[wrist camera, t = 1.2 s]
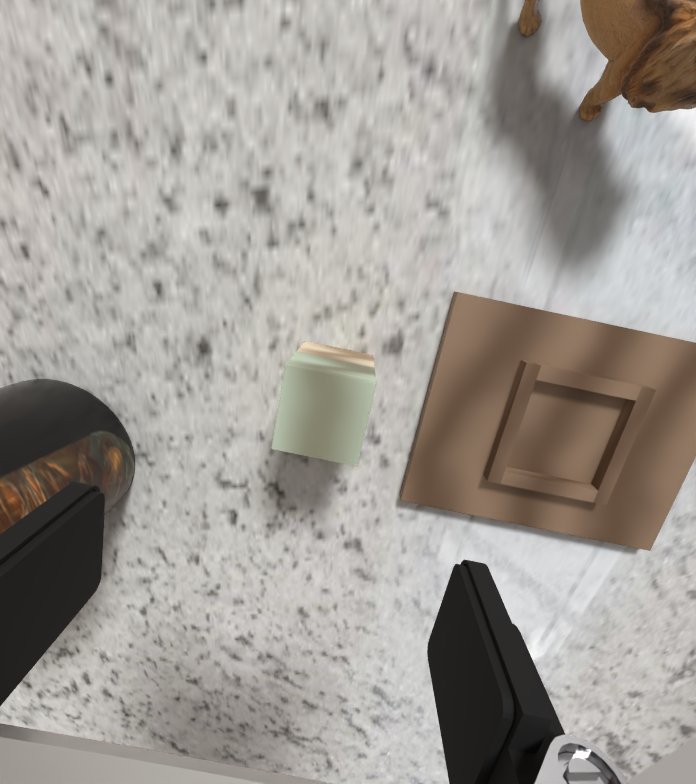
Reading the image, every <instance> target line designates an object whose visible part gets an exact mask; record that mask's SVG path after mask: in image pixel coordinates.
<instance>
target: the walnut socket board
mask: <svg viewBox="0 0 696 784" xmlns="http://www.w3.org/2000/svg"><path fill="white" fill-rule="evenodd" d="M695 457H696V343H694V342H689V341H684V340H680V339H675V338H670V337H665V336H661V335H656V334H651V333H647V332H642V331H637V330H633V329H628V328H623V327H619V326H614V325H609V324H604V323H600V322H595V321H590V320H586V319H581V318H576V317H572V316H567V315H562V314H557V313H553V312H548V311H543V310H539V309H534V308H529V307H525V306H520V305H515V304H510V303H506V302H501V301H496V300H492V299H487V298H482V297H478V296H473V295H468V294H464V293H459V292H454V295H453V299H452V303H451V306H450V310H449V314H448V318H447V321H446V325H445V329H444V332H443V336H442V340H441V343H440V347H439V351H438V355H437V358H436V362H435V366H434V369H433V373H432V377H431V380H430V384H429V388H428V392H427V395H426V399H425V403H424V406H423V410H422V414H421V418H420V421H419V425H418V429H417V432H416V436H415V440H414V443H413V447H412V451H411V455H410V458H409V462H408V466H407V469H406V473H405V477H404V481H403V484H402V488H401V492H400V498H401V501H405V502H410V503H415V504H420V505H425V506H430V507H435V508H440V509H445V510H450V511H455V512H460V513H465V514H470V515H475V516H480V517H485V518H490V519H495V520H500V521H505V522H510V523H515V524H520V525H525V526H530V527H535V528H540V529H545V530H550V531H555V532H560V533H565V534H570V535H575V536H580V537H585V538H590V539H595V540H600V541H605V542H610V543H615V544H620V545H625V546H630V547H634V548H639V549H644V550H649V551H650V550H651V548H652V546H653V544H654V542H655V540H656V537H657V535H658V533H659V531H660V529H661V527H662V525H663V523H664V521H665V519H666V517H667V515H668V513H669V511H670V509H671V507H672V504H673V502H674V500H675V498H676V496H677V494H678V492H679V490H680V488H681V486H682V484H683V482H684V480H685V478H686V476H687V474H688V472H689V469H690V467H691V465H692V463H693V461H694V459H695Z"/></svg>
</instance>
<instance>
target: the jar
mask: <svg viewBox="0 0 696 784" xmlns="http://www.w3.org/2000/svg"><path fill="white" fill-rule="evenodd" d="M134 468H135V458H134V452H133V447H132V444H131V441H130V439H129V436H128V434H127V432H126V430H125V428H124V427H123V425H122V423H121V422H120V421H119V419H118V418H117V417H116V415H115V414H114V413H113V412H112V411H111V410H110V409H109V408H108V407H107V406H106V405H105V404H104V403H103V402H101V401H100V400H99V399H98V398H96V397H95V396H93V395H92V394H90V393H88V392H87V391H85V390H83V389H81V388H79V387H76V386H74V385H72V384H68V383H65V382H61V381H57V380H50V379H34V380H27V381H22V382H19V383H15V384H12V385H9V386H5V387H2V388H0V534H1V533H2V532H4V531H5V530H7V529H8V528H9V527H11V526H12V525H13V524H15V523H16V522H18V521H19V520H20V519H22V518H23V517H25V516H26V515H27V514H29V513H30V512H31V511H33V510H34V509H36V508H37V507H38V506H40V505H41V504H42V503H44V502H45V501H47V500H48V499H49V498H51V497H52V496H53V495H55V494H56V493H58V492H59V491H60V490H62V489H63V488H64V487H66V486H67V485H69V484H70V483H72V482H80V483H85V484H90V485H95V486H98V487H99V489H100V493H103V494H104V495H105V509H104V515H105V514H106V513H107V512H108V511H109V510H110V509H111V508H112V507H113V506H114V505H115V504H116V503H117V502H118V501H119V500H120V499H121V498H122V497H123V496H124V494H125V493H126V492H127V490H128V488H129V486H130V484H131V482H132V479H133V475H134Z"/></svg>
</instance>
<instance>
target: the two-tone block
mask: <svg viewBox="0 0 696 784" xmlns="http://www.w3.org/2000/svg"><path fill="white" fill-rule="evenodd" d="M375 388H376V376H375V367H374V358H373V355H370V354H365V353H360V352H355V351H351V350H346V349H341V348H336V347H331V346H327V345H322V344H317V343H312V342H307V341H305V342H304V343H303V344H302V346H301V347H300V348H299V349H298V350H297V352H296V353H295V354H294V355H293V356H292V357H291V359H290V360H289V361H288V362H287V363H286V365H285V369H284V375H283V381H282V387H281V393H280V400H279V406H278V412H277V418H276V424H275V430H274V436H273V442H272V448H271V449H274V450H279V451H284V452H289V453H294V454H298V455H303V456H308V457H313V458H318V459H323V460H328V461H333V462H338V463H343V464H348V465H353V466H357V465H358V461H359V457H360V452H361V448H362V444H363V440H364V435H365V431H366V427H367V422H368V418H369V414H370V409H371V405H372V401H373V396H374V392H375Z"/></svg>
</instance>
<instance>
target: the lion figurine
mask: <svg viewBox="0 0 696 784" xmlns="http://www.w3.org/2000/svg"><path fill="white" fill-rule="evenodd" d="M538 1H539V0H525V3H524V6H523V9H522V12H521V15H520V20H519V28H520V32H521V33H522V34H523V35H525V36H530V35H532V34H533V33H534V32H535V31H537V29H538V28H539V27H540V25H541V15H540V13H539V10H538ZM580 3H581V10H582V17H583V22H584V24H585V27H586V30H587V32H588V35H589V36H590V38H591V40H592V42H593V43H594V44H595V46H596V47H597V48H598V49H599V50H600V52H601V53H602V54H603V55H604V56H605V57H606V58H607V59H608V60H609V61H608V63H607V65H606V68H605V70H604V73H603V75H602V77H601V79H600V80H599V82H598V83H597V84H596V85H595V86H594V87H593V88H592V89H590V90H589V91H588V93H587V94H586V96H585V98H584V100H583V101H582V103H581V107H580V117H581V119H582V120H586V121H590V120H593V119H595V118H596V117H597V116H598V114H599V113H601V111H602V106H601V103H604V102H607V101H610V100H612V99H614V98H616V97H617V96H619V95H621V94H622V96H623V97H624V98H625V99H626V100H628V103H629V104H630V105H631V107H632V108H642V107H645V108H646V109H647V111H649V112H651V113H655V112H661V111H672V110H677V109H692V108H695V107H696V0H580Z"/></svg>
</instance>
